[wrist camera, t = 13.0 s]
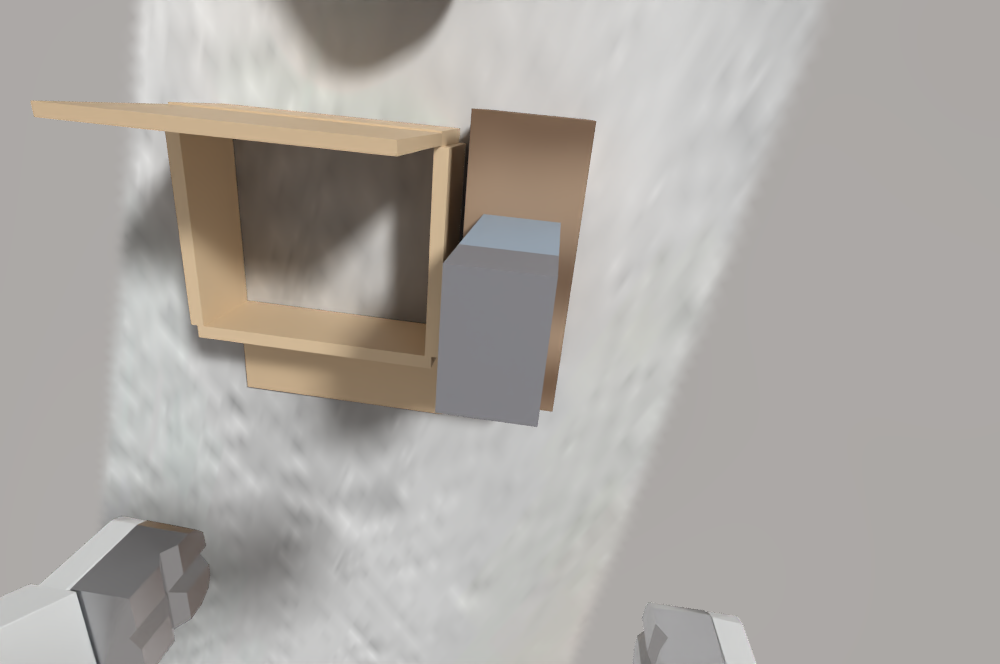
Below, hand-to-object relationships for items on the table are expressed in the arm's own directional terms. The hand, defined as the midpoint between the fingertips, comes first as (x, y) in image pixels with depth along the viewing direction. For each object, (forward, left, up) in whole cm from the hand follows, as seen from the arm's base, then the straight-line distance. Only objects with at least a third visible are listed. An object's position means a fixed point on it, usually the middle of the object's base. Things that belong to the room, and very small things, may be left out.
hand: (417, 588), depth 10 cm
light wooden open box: (+3, -12, -27) cm, 30 cm away
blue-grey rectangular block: (0, 0, -21) cm, 21 cm away
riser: (0, 0, -27) cm, 27 cm away
